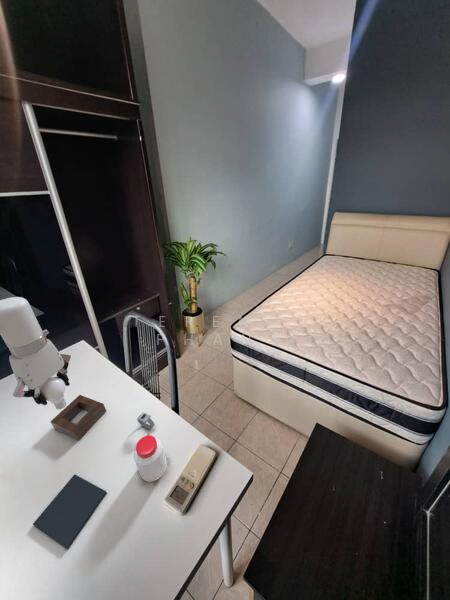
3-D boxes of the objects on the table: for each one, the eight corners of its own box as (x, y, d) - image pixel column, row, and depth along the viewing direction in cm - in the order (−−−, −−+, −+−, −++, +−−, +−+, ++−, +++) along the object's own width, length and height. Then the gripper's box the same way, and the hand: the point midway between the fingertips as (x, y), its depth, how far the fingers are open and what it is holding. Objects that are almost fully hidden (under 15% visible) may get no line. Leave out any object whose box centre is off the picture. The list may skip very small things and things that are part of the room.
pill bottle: (141, 487, 68) (132, 464, 62) (138, 460, 74) (130, 438, 69) (169, 474, 70) (163, 451, 65) (164, 449, 77) (157, 427, 71)
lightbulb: (59, 397, 77) (46, 371, 72) (78, 399, 76) (66, 372, 71) (44, 415, 71) (28, 388, 66) (64, 417, 71) (49, 390, 65)
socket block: (54, 429, 85) (50, 421, 83) (83, 401, 94) (79, 394, 92) (79, 440, 80) (75, 433, 78) (106, 410, 90) (103, 403, 88)
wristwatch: (157, 426, 84) (154, 416, 81) (151, 433, 81) (148, 423, 79) (142, 419, 86) (139, 410, 84) (137, 426, 84) (134, 417, 81)
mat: (34, 525, 61) (32, 524, 61) (75, 475, 71) (74, 474, 71) (68, 549, 57) (66, 547, 57) (107, 493, 67) (106, 491, 66)
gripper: (50, 323, 71) (71, 369, 79) (-21, 363, 57) (14, 414, 65) (68, 328, 68) (88, 375, 77) (0, 371, 54) (33, 423, 63)
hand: (54, 393), depth 71 cm, fingers closed on lightbulb, 6 cm apart
